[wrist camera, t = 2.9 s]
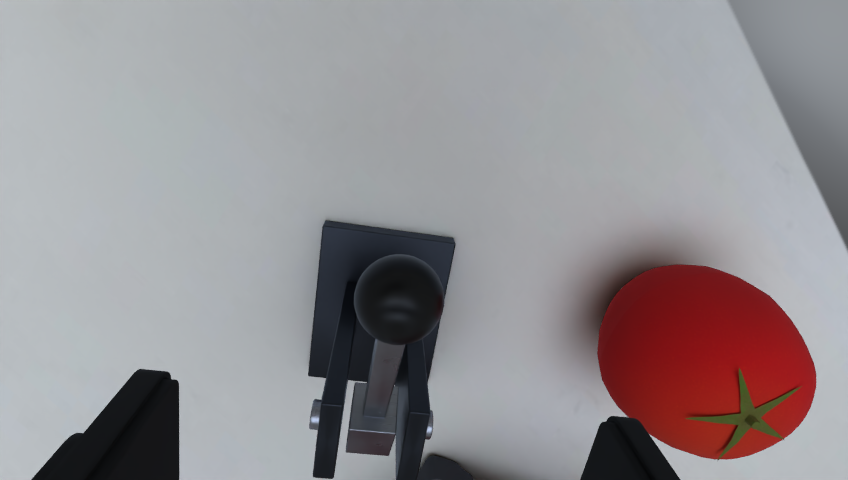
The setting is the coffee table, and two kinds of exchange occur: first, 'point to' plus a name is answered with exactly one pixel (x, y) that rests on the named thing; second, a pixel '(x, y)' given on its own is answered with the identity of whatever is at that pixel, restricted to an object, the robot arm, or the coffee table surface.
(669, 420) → the tomato
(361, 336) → the bracket
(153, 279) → the coffee table surface
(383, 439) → the lever
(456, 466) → the toaster
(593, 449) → the robot arm
